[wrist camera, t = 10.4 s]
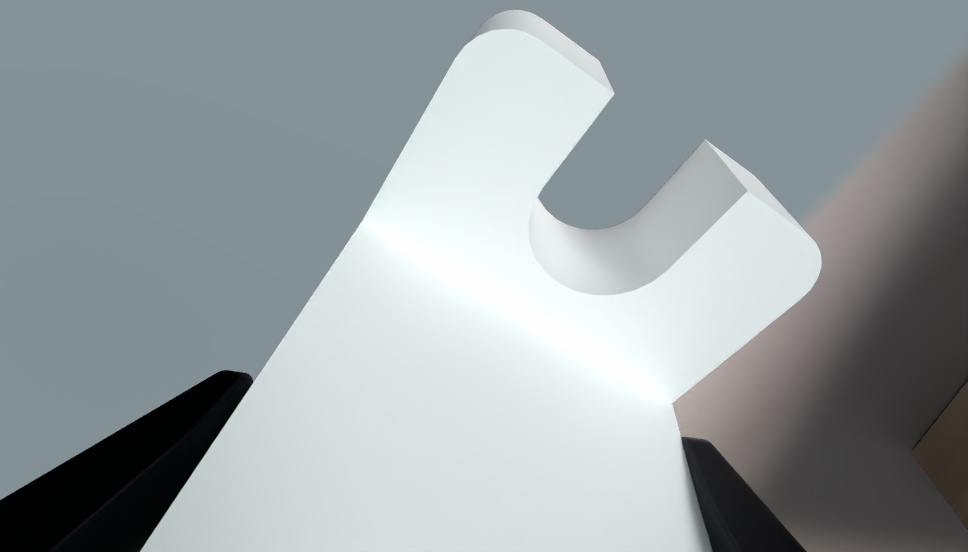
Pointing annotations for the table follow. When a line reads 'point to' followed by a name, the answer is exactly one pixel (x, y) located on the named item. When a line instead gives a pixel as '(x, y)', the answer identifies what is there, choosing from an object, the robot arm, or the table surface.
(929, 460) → the tray
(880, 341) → the table surface
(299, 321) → the cable organizer
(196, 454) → the robot arm
